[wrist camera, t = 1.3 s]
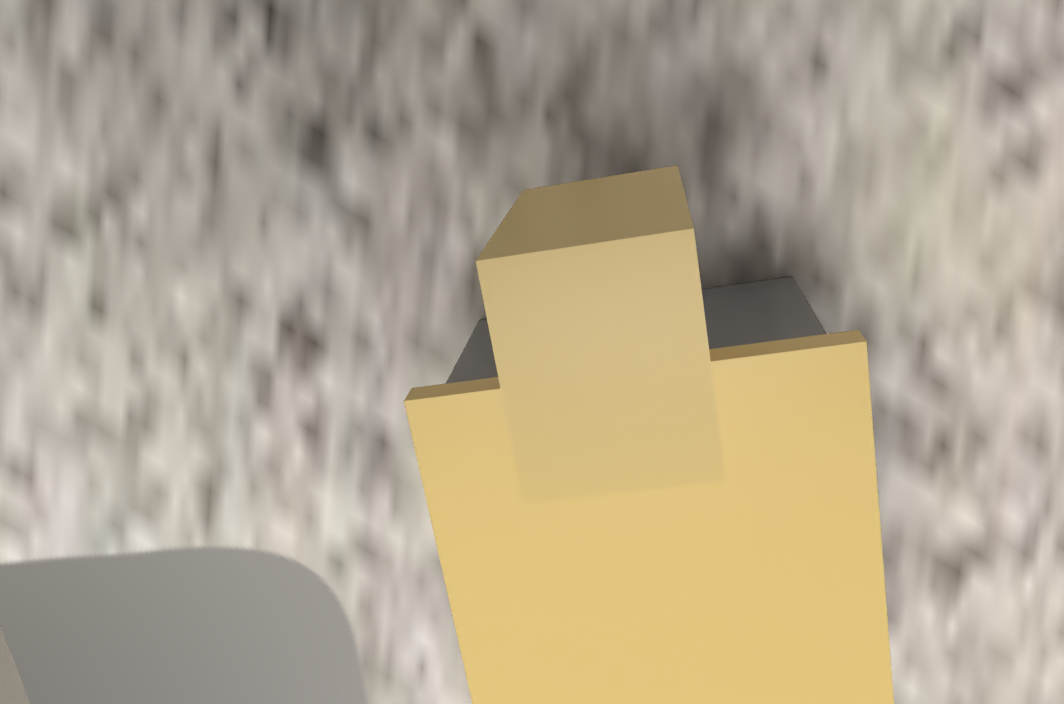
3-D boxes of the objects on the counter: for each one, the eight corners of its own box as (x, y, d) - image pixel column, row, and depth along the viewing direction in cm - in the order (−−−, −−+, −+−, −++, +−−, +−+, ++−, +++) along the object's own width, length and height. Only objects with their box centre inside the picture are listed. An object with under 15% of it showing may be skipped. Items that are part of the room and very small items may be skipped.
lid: (372, 213, 26) (266, 292, 19) (843, 138, 25) (933, 192, 17) (512, 838, 33) (474, 1085, 25) (896, 816, 31) (979, 1075, 23)
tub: (479, 320, 36) (436, 401, 28) (792, 276, 34) (836, 350, 26) (549, 673, 40) (528, 825, 32) (828, 650, 38) (874, 804, 31)
